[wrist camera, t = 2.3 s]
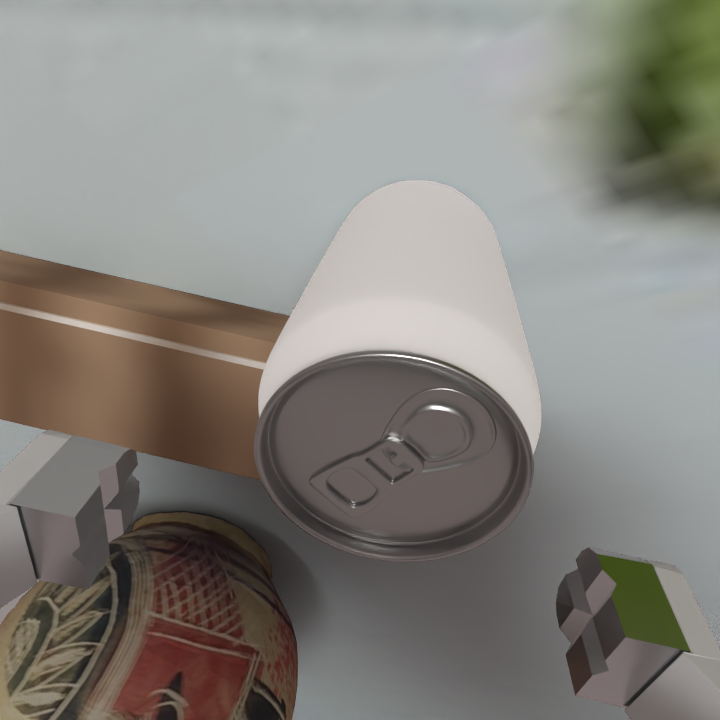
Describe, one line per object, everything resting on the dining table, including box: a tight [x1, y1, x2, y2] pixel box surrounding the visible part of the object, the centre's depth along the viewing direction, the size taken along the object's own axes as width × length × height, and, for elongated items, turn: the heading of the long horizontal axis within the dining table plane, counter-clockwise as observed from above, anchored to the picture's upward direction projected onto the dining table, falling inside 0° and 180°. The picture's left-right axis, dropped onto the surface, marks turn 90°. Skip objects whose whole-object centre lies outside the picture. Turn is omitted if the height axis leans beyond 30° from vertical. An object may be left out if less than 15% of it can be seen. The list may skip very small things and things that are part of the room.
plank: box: [0, 250, 290, 480], centre depth 24 cm, size 20×8×2 cm, turn 79°
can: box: [254, 180, 541, 562], centre depth 15 cm, size 6×6×12 cm
